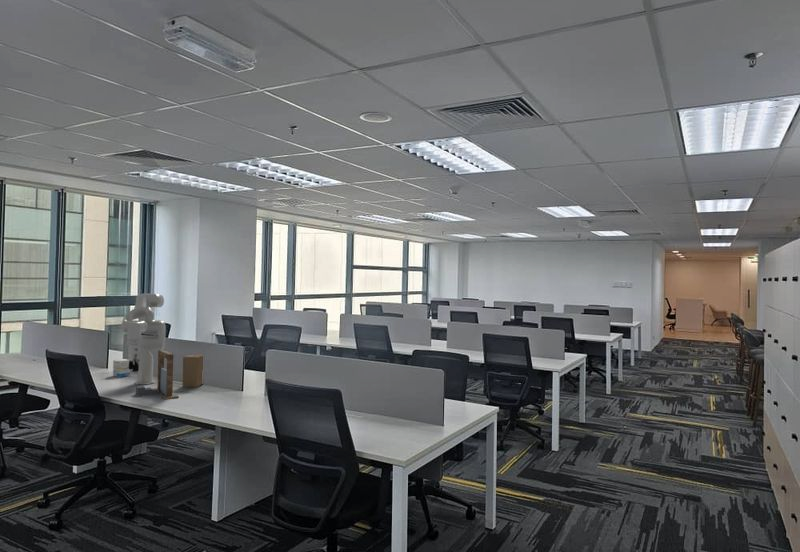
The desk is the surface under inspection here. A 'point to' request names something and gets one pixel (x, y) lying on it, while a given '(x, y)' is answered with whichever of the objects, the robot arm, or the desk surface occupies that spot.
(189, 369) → the wooden block
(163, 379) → the door leaf
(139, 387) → the wedge
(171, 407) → the desk surface
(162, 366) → the door frame
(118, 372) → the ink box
